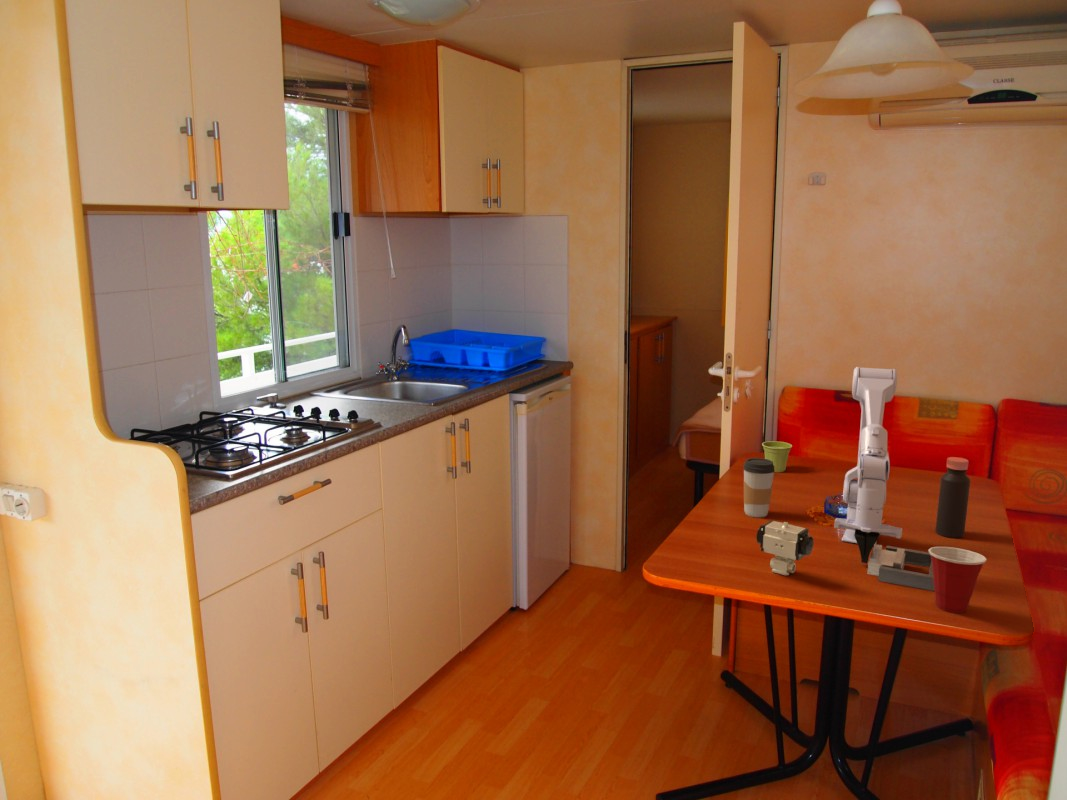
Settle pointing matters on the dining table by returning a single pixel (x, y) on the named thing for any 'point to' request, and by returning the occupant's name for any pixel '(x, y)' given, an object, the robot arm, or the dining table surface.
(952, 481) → the bottle
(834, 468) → the dining table surface
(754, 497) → the coffee cup
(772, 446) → the plant pot
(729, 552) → the dining table surface
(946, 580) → the plastic cup
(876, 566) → the block
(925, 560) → the dock
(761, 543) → the pneumatic valve
